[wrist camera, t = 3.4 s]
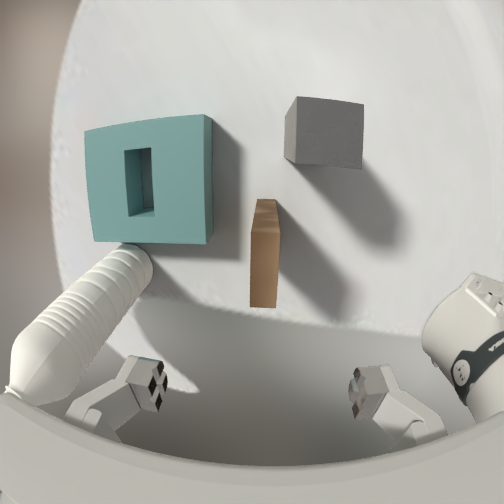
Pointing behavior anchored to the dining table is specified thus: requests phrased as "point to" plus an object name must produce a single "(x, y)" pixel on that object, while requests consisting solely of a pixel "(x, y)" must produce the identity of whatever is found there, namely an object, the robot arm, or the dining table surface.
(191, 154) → the socket block
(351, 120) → the square metal peg
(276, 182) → the dining table surface
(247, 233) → the dining table surface
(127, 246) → the water bottle
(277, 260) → the walnut blade
